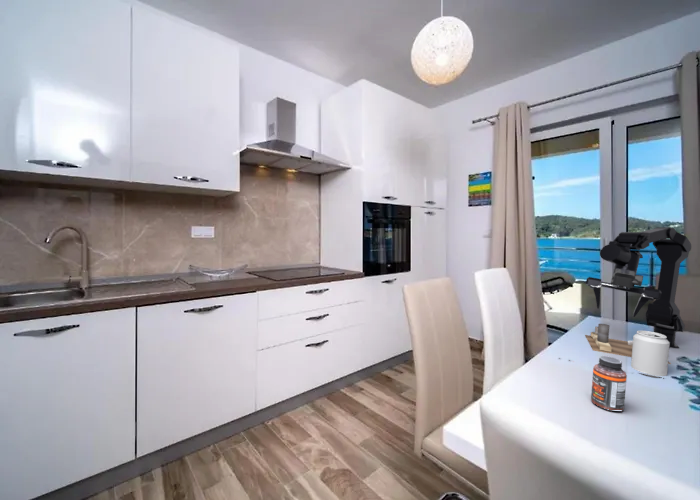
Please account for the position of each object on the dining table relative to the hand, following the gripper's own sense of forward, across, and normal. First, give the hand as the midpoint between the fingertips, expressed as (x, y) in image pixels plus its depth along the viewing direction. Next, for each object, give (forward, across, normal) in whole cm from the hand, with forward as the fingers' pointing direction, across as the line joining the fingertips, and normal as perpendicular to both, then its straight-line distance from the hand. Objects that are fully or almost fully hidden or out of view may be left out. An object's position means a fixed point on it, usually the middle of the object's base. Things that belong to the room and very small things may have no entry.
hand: (615, 312), depth 101 cm
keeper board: (+12, +4, +10) cm, 16 cm away
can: (+16, +10, -8) cm, 20 cm away
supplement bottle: (+24, +1, -39) cm, 45 cm away
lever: (+12, -2, +9) cm, 15 cm away
